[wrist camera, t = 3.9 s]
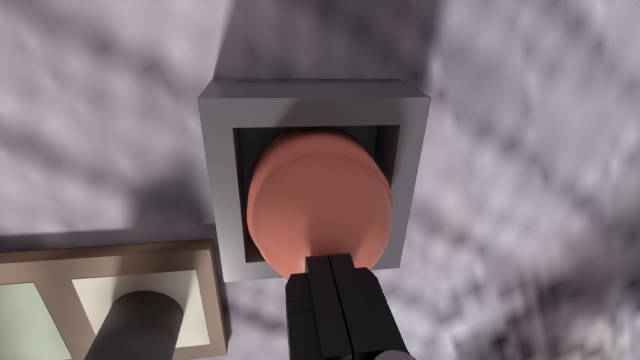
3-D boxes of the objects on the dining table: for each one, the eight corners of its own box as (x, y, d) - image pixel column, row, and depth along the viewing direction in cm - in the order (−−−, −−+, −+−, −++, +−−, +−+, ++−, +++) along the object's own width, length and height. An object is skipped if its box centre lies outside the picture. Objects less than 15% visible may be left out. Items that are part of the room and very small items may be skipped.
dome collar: (398, 79, 17) (431, 97, 14) (378, 226, 22) (399, 267, 18) (212, 78, 16) (197, 98, 13) (231, 235, 21) (224, 282, 17)
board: (211, 239, 20) (209, 249, 20) (228, 343, 25) (226, 355, 24) (-127, 260, 18) (-148, 274, 17) (-40, 372, 23) (-52, 387, 22)
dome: (380, 123, 16) (436, 180, 11) (367, 230, 19) (406, 316, 13) (245, 125, 15) (233, 189, 10) (254, 237, 18) (248, 333, 13)
